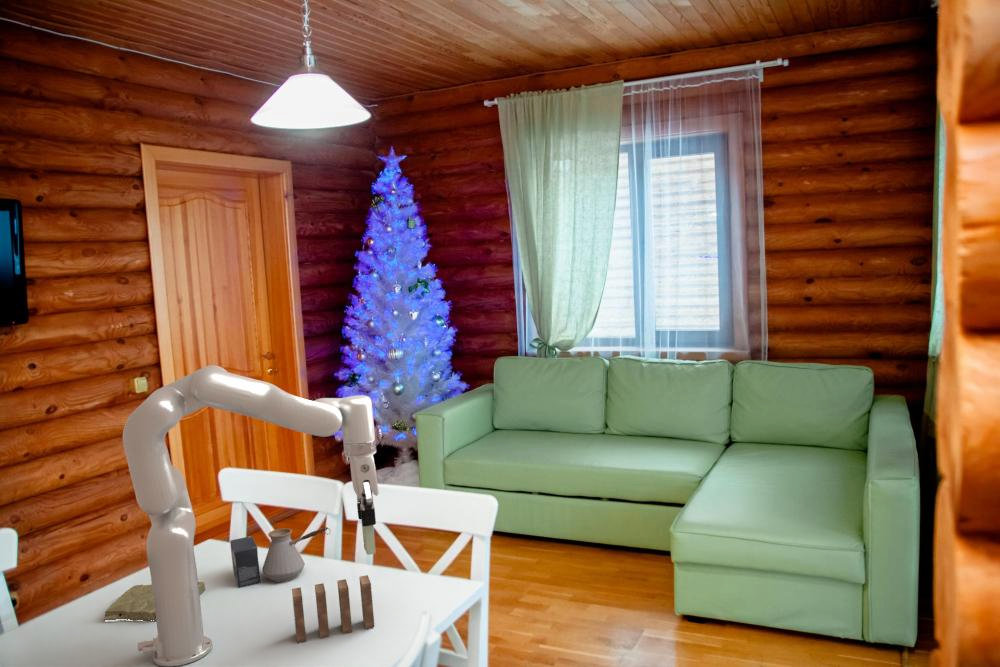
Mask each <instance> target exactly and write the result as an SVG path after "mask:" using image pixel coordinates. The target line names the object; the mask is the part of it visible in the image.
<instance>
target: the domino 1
mask: <svg viewBox="0 0 1000 667" xmlns="http://www.w3.org/2000/svg"><path fill="white" fill-rule="evenodd" d="M291 594H292V604H293V613H294V614H293V616H294V625H295V626H294V627H295V633H296V634H295V635H296V641H297V642H296V643H297V644H301V643H306V642H307V633H306V623H305V612H304V604H303V603H304V602H303V594H302V588H301V587H296V588H294V587H293V588H292V589H291ZM305 641H306V642H305Z"/></svg>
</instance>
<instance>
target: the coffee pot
mask: <svg viewBox="0 0 1000 667" xmlns="http://www.w3.org/2000/svg"><path fill="white" fill-rule="evenodd" d="M327 530H329V533H327ZM323 532H324V533H325V535H330V534H331V528H329V527H328V526H325V527H323V528H319V529H318V530H314V531H311V532H310V533H307V534H305V535H303V536H301V537H298V538H296V539H294V540H293V539H292V537H291V535H292V534H293V530H292V529H291V528H285V527H284V528H276V529H273V530H272V531H270V532H268V534H267V535H268V537H269V538H270V540H271V541H270V544H269V548H268V551H267V553H266V556H265V560H264V563H263V566H262V573H263V575H264V577H266V578H267V579H269V580H270V581H271V582H272V583H273V582H274V583H284V582H289V581H292V580H294V579H296V578H297V577H299V575H300V574H301V573H302V572H303V570H304V568H305V561H304V559H303V557H302V555H301V553H300V552H299V550H298V548H297V547H296V545H295V544H297V543H298V542H301V541H304V540H306V539H310V538H312V537H315V536H316V535H318V534H322V533H323ZM298 574H299V575H298Z"/></svg>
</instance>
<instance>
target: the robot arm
mask: <svg viewBox="0 0 1000 667" xmlns="http://www.w3.org/2000/svg"><path fill="white" fill-rule="evenodd" d="M372 402H373V401H372V399H371V398H370V397H369V395H365V394H364V395H363V394H361V395H360V394H359V395H352V396H351V395H350V396H345V397H321V398H317V399H315V400H310V399H307V398H303V397H300V396H296V395H294V394H291V393H289V392H287V391H285V390H283V389H281V388H279V386H276V385H275V384H273V383H270V382H267V381H263V380H259V379H256V378H255V379H254V378H251V377H249V376H248V377H247V376H244V375H240V374H235V373H234V372H233V373H231V372H228V371H227V369H225V368H223V367H221V366H218V365H212V364H210V365H206V366H203V367H201V368H199V369H198V370H195V371H194V372H192V373H190V374H187V375H186V376H183V377H181V378H179V379H177V380H175V381H173V382H171V383H168V384H166V385H164V386H161V387H160V388H158V389H155V391H153V392H152V393H151V394H150V395H149V396H148V397H147V398H146V399H145V400H144V401H143V402H141V403H140V405H138V407H136V408H135V409H134V410H133V411H132V412H131V414H130V415H129V416H128V418H127V420H126V422H125V423H124V426H123V431H122V444H123V445H122V446H123V450H124V453H125V457H126V461H127V465H128V470H129V474H130V478H131V482H132V486H133V490H134V494H135V499H136V501H137V504H138V506H139V508H140V509H141V510H142V511H143V512H144V513H146V514H148V518H149V521H150V523H151V524H150V525H151V527H150V529H149V532H148V535H147V538H146V545H145V546H146V547H145V548H146V549H145V550H146V558H147V563H148V566H149V573H150V578H151V579H150V580H151V585H152V589H153V596H154V604H155V613H156V621H155V622H156V630H157V636H156V637H154V638H152V639H151V640H145V641H140V642H137V650H138V652H142V655H146V654H150V653H152V660H153V663H154V664H155V665H158V666H161V667H178V666H182V665H183V666H184V665H187V664H190V663H191V664H192V663H193V662H196V661H198V660H200V659H201V658H203V657H205V656H206V655H208V654H209V652H211V650H212V648H213V641H212V640H211V638H210V637H208V636H206V635H205V634H204V628H203V627H204V625H203V617H202V607H201V596H199V586H198V582H199V578H198V569H197V563H196V557H195V549H194V539H195V533H196V527H197V524H196V518H195V514H194V510H193V506H192V502H191V499H190V496H189V491H188V488H187V484H186V481H185V478H184V475H183V474H182V472H181V471H180V470H179V469H178V468H177V467H176V466H174V465H172V462H171V458H170V453H169V450H168V447H167V444H166V440H165V439H166V438H165V437H166V435H167V433H168V432H169V431H170V430H172V429H174V428H175V427H176V426H177V424H179V422H180V420H182V418H184V417H187V416H189V415H190V414H193V413H195V412H196V411H198V410H199V411H200V409H203V408H204V407H205V408H206V407H209V408H211V409H212V408H213V409H215V410H222V411H225V412H230V413H234V414H238V415H243V416H245V417H250V418H253V419H257V420H261V421H263V422H266V423H268V424H269V423H270V424H273V425H275V426H279V427H281V428H286V429H289V430H292V431H295V432H298V433H299V432H300V433H303V434H307V435H312V436H317V437H322V438H324V437H331V436H333V435H335V434H337V433H338V432H339V430H340V429H341V431H342V432H341V433H342V441H343V442H342V443H343V452H344V457H345V458H349V465H350V466H349V467H350V475H351V482H352V483H351V484H352V487H353V491H354V493H355V495H356V500H357V503H356V504H357V505H356V508H357V516H358V518H357V519H359V520H361V518H362V520H361V527H362V526H363V527H365V526H370V525H373V526H375V525H376V524H377V521H376V520H377V519H376V510H375V506H374V499H373V495H374V496H376V497H377V496H378V495H379V485H378V479H377V471H376V470H377V468H376V464H375V458H374V455H375V454H376V453H377V443H376V442H377V441H376V434H375V422H374V421H375V420H374V412H373V410H374V409H373V403H372ZM360 505H361V506H362V510H361V509H360Z"/></svg>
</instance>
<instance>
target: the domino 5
mask: <svg viewBox="0 0 1000 667" xmlns="http://www.w3.org/2000/svg"><path fill="white" fill-rule="evenodd" d="M358 577H359V578H358V580H359V589H360V599H361V600H360V601H361V613H362V622H363V621H364V622H363V624H364V627H366V628H365V630H370V629H369V628H371V629H374V628H373V627H375V618H374V606H373V604H374V602H373V592H372V583H371V579H370V578H369V575H368V574H367V575H361V576H358Z"/></svg>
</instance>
